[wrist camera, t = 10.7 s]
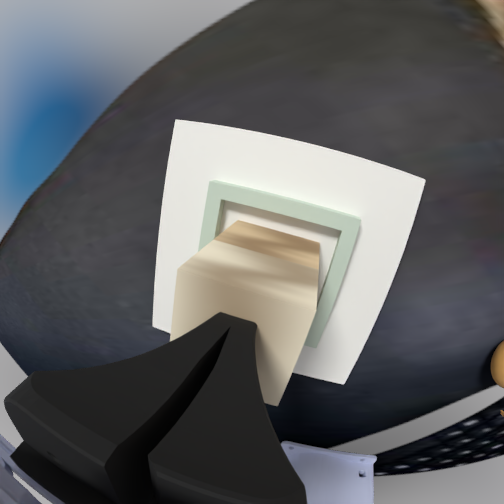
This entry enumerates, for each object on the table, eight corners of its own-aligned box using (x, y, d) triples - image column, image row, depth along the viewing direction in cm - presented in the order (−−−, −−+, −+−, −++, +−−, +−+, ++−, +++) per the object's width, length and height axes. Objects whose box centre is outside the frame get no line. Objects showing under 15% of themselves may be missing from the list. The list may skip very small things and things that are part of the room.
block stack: (319, 242, 16) (316, 310, 9) (296, 314, 18) (277, 406, 11) (238, 219, 17) (177, 268, 10) (223, 292, 18) (168, 369, 11)
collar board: (419, 178, 14) (430, 181, 13) (343, 375, 19) (344, 392, 18) (183, 120, 16) (169, 118, 15) (159, 319, 21) (147, 332, 20)
